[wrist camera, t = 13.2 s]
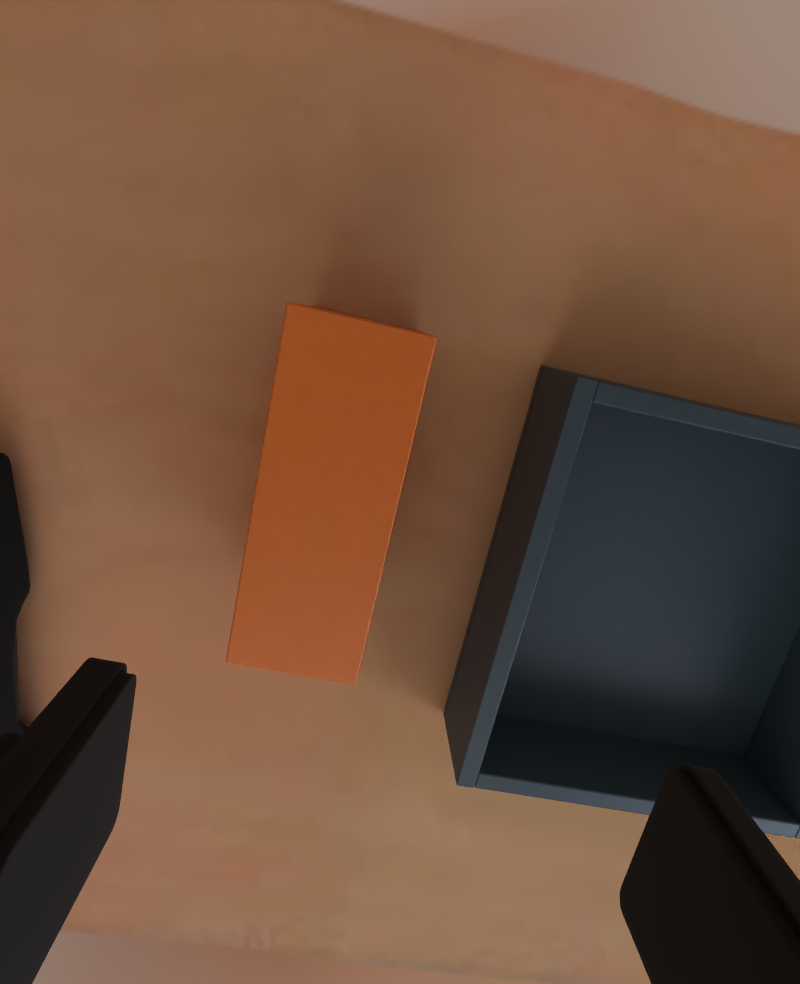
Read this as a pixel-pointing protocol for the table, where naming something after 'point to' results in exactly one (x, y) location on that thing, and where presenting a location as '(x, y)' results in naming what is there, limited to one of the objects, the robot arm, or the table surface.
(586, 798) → the bin
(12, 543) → the electric trimmer
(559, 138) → the table surface
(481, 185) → the table surface
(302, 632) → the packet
